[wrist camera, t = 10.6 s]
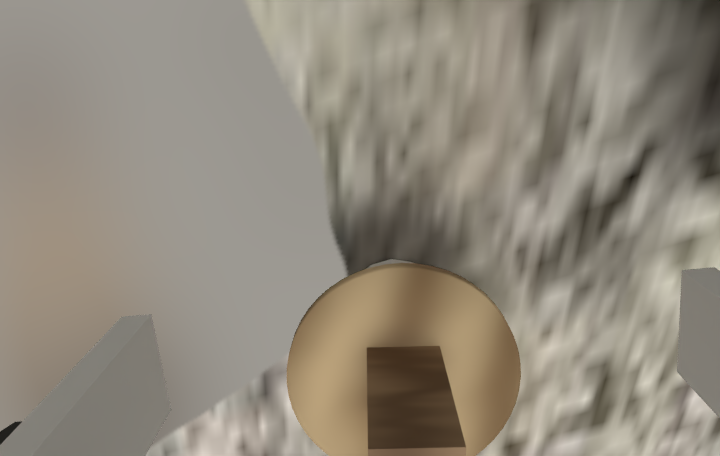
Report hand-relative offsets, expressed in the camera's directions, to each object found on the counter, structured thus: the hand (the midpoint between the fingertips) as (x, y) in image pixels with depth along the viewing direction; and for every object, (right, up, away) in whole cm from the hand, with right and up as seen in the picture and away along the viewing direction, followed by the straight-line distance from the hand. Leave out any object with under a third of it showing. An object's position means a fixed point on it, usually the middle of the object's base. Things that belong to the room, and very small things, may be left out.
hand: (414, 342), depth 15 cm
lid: (+1, -5, +20) cm, 21 cm away
